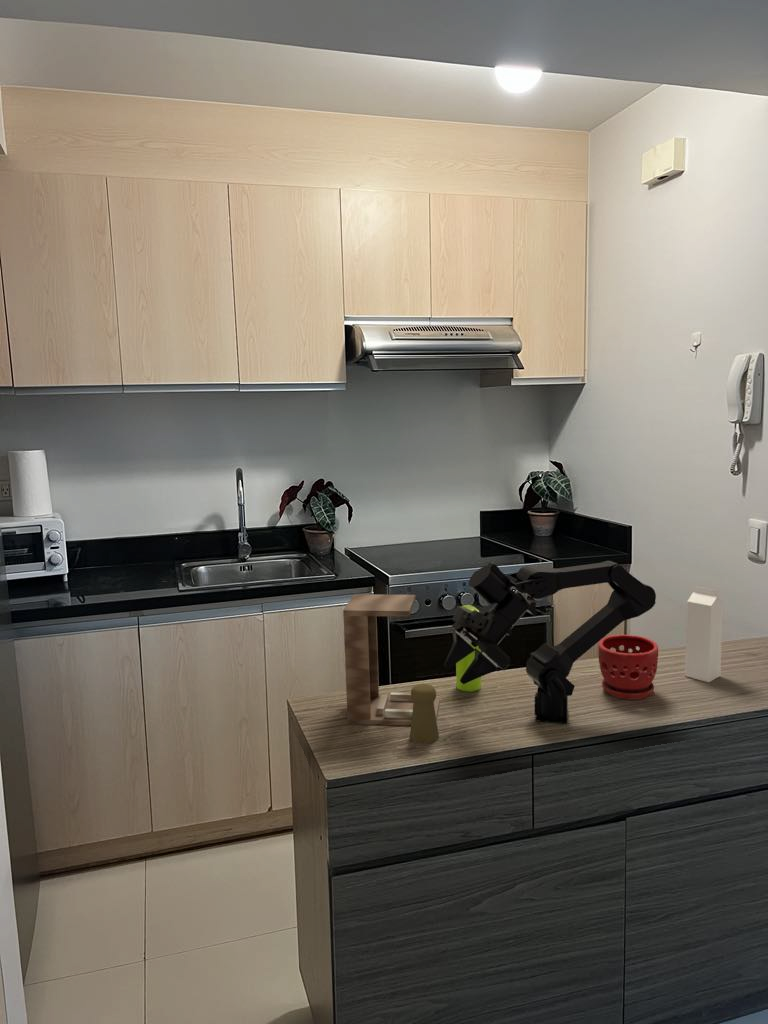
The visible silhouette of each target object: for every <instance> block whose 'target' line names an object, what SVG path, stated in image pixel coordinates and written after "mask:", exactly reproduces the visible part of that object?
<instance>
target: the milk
mask: <svg viewBox="0 0 768 1024" xmlns="http://www.w3.org/2000/svg"><path fill="white" fill-rule="evenodd" d="M718 594H719V591H718V590H717V589H712V588H707V587H704V586H703V587H701V586H696V585H694V586H693V592H692V593H691V595H690V596H689V598H688V599H687V602H686V629H685V630H686V631H685V633H686V634H685V658H684V659H685V663H684V666H685V667H684V676H685V677H687V678H690V679H695V680H698V681H702V682H705V683H710V682H712V681H714V680H715V679H717V678H719V677H721V668H722V661H721V660H722V644H723V643H722V641H723V618H724V615H723V613H724V611H723V610H724V600H723V599H722V598H721V597H719V595H718Z"/></svg>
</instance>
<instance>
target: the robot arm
mask: <svg viewBox="0 0 768 1024" xmlns="http://www.w3.org/2000/svg"><path fill="white" fill-rule="evenodd" d="M606 583H607V585H608V586H609V587H610V588H611V589H612V592H611V593H610V597H609V599H608V601H607V604H606V605H604V606H603V607H602V608H601V609H600V610H598V611H597V612H596V613H594V615H592V616H591V617H590V618H589V619H588V620H586V621H584V623H582V625H580V626H579V627H577V628H576V629H575V630H574V631H573V632H572V633H570V635H568V636H567V637H566V638H564V639H563V640H562V641H561V642H560V643H558V644H557V645H553V646H552V645H549V644H548V643H546V642H544V643H542V644H541V645H540V646H539V647H538V649H536V650H534V651H533V652H530V653H529V654H530V655H531V656H530V657H529V658H528V659H527V661H526V665H525V671H526V674H527V676H528V677H529V678H531V680H532V682H533V685H536V686H537V692H535V693H534V715H535V716H536V718H535V720H536V722H541V723H545V722H546V723H553V724H554V723H555V724H568V723H569V722H568V721H569V709H568V705H569V701H568V699H569V697H568V696H572V695H573V692H574V689H575V685H574V684H573V683H572V682H571V681H570V680H569V679H568V676H569V675H570V672H571V670H572V668H573V665H574V663H575V662H577V660H579V658H581V657H582V656H583V655H584V654H586V653H587V652H588V651H589V650H590V649H591V648H593V647H594V646H595V645H596V644H598V643H599V642H600V640H602V639H603V638H605V637H607V635H608V634H609V633H611V632H612V631H613V630H614V629H615V628H617V627H618V626H619V625H621V623H623V622H624V621H627V620H631V619H634V618H638V617H640V616H642V615H643V614H646V613H647V612H649V611H650V610H652V608H653V607H655V605H656V603H657V602H656V599H657V594H656V591H655V589H654V588H653V587H652V586H650V585H648V584H645V583H642V581H640V579H639V580H638V579H637V578H636V577H635V576H633V575H632V574H631V573H629V572H628V570H626V569H625V568H624V567H623V566H622V564H619V563H617V562H615V561H614V562H613V561H611V560H605V561H602V562H597V563H589V564H582V565H581V564H580V565H573V566H565V567H558V568H557V567H556V568H554V567H553V568H552V567H546V566H537V565H525V566H522V567H520V568H519V570H518V571H515V572H512V573H507V574H504V573H503V572H502V571H501V569H500V568H499V567H498V566H497V565H496V564H495V563H494V562H492V561H489V562H488V564H487V565H485V566H482V567H480V568H479V569H478V570H475V571H474V572H473V573H472V575H471V576H470V578H469V579H468V586H469V588H471V589H472V590H473V592H475V593H476V594H478V596H479V597H481V599H483V601H485V602H486V603H487V604H488V605H492V604H494V605H493V606H492V608H490V609H489V610H487V609H483V611H480V612H478V611H476V610H474V611H471V610H468V609H466V608H463V607H461V606H460V605H458V606H457V607H456V610H455V613H454V615H453V617H452V621H453V622H454V623H453V624H452V625H451V627H452V630H451V633H452V637H453V641H452V646H451V648H450V650H449V652H448V655H447V657H446V659H445V662H444V664H443V667H444V668H446V669H447V670H448V669H450V668H451V667H453V666H456V663H457V662H459V661H460V660H462V659H463V658H465V657H466V656H467V655H469V654H470V653H472V652H473V651H475V658H474V660H473V661H472V663H471V664H470V666H469V667H468V668H467V670H466V671H465V673H464V674H463V676H462V677H461V679H460V682H461V683H462V684H465V683H468V682H470V681H472V680H474V679H477V678H479V677H481V678H482V677H483V676H486V675H488V674H489V675H490V674H491V673H494V672H500V670H503V671H506V670H507V668H508V667H509V666H510V665H511V656H509V655H508V654H507V653H506V652H505V651H504V650H503V649H502V648H501V647H500V646H499V644H500V642H501V641H503V639H504V638H505V637H506V636H509V637H511V636H512V635H513V634H514V631H512V629H513V627H514V626H515V625H516V624H517V623H518V622H519V620H521V619H522V617H523V616H524V615H525V613H526V612H527V613H529V614H531V615H533V616H537V613H538V612H537V608H536V605H537V602H536V601H534V600H533V599H536V600H541V599H543V598H546V597H550V596H553V595H555V594H556V593H558V592H559V591H562V590H564V589H569V588H570V589H571V588H577V587H578V588H579V587H583V586H590V585H591V586H594V585H599V584H606ZM512 589H513V590H515V591H517V592H513V591H512ZM523 594H525V595H527V596H529V597H531V598H533V599H527V597H525V596H524V595H523ZM470 644H472V645H473V646H474V647H476V646H479V649H480V650H481V652H480V651H478V650H477V649H476V648H475V649H474V648H473V647H472V646H470Z"/></svg>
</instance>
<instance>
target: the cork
mask: <svg viewBox="0 0 768 1024" xmlns="http://www.w3.org/2000/svg"><path fill="white" fill-rule="evenodd" d="M410 693H411V699H412V700H413V702H414V703H413V712H412V721H411V726H410V731H409V739H410V741H412V742H414V743H417V744H424V745H425V744H431V743H434V742H437V741H438V740H439V739H440V737H439V736H440V735H439V729H438V723H437V721H438V720H437V721H436V714H435V708H434V700H435V699H436V698H437V690H436V689H435V687H434V686H433V685H431V684H429V683H419V684H415V685H414V686H413V687H412V688H411V690H410Z"/></svg>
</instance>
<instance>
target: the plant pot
mask: <svg viewBox="0 0 768 1024" xmlns="http://www.w3.org/2000/svg"><path fill="white" fill-rule="evenodd" d="M597 644H598V651H597V652H598V663H599V669H600V673H601V675H602V677H603V679H602V681H601V687H602V689H603V690H604V691H605V692H606V693H608V694H609V695H611V696H612V697H616V698H619V699H622V700H623V699H624V700H640V699H644V698H647V697H649V696H651V695H652V694H653V692H654V690H655V685H654V683H653V681H654V680H655V677H656V674H657V671H658V661H659V646H658V644H657V642H655V641H654V640H652V639H650V638H647V637H644V636H639V635H633V634H617V635H616V634H615V635H609V636H605V637H603V638H602V639H601V640H600V641H599V642H598V643H597ZM620 646H623V647H624V648H623V649H620ZM637 647H638V648H639V650H638V649H637ZM612 648H613V649H615V651H614V650H611V649H612ZM630 650H631V652H630Z"/></svg>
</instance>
